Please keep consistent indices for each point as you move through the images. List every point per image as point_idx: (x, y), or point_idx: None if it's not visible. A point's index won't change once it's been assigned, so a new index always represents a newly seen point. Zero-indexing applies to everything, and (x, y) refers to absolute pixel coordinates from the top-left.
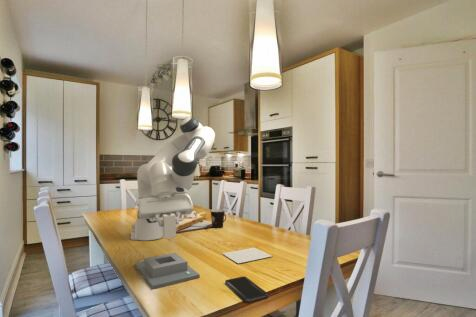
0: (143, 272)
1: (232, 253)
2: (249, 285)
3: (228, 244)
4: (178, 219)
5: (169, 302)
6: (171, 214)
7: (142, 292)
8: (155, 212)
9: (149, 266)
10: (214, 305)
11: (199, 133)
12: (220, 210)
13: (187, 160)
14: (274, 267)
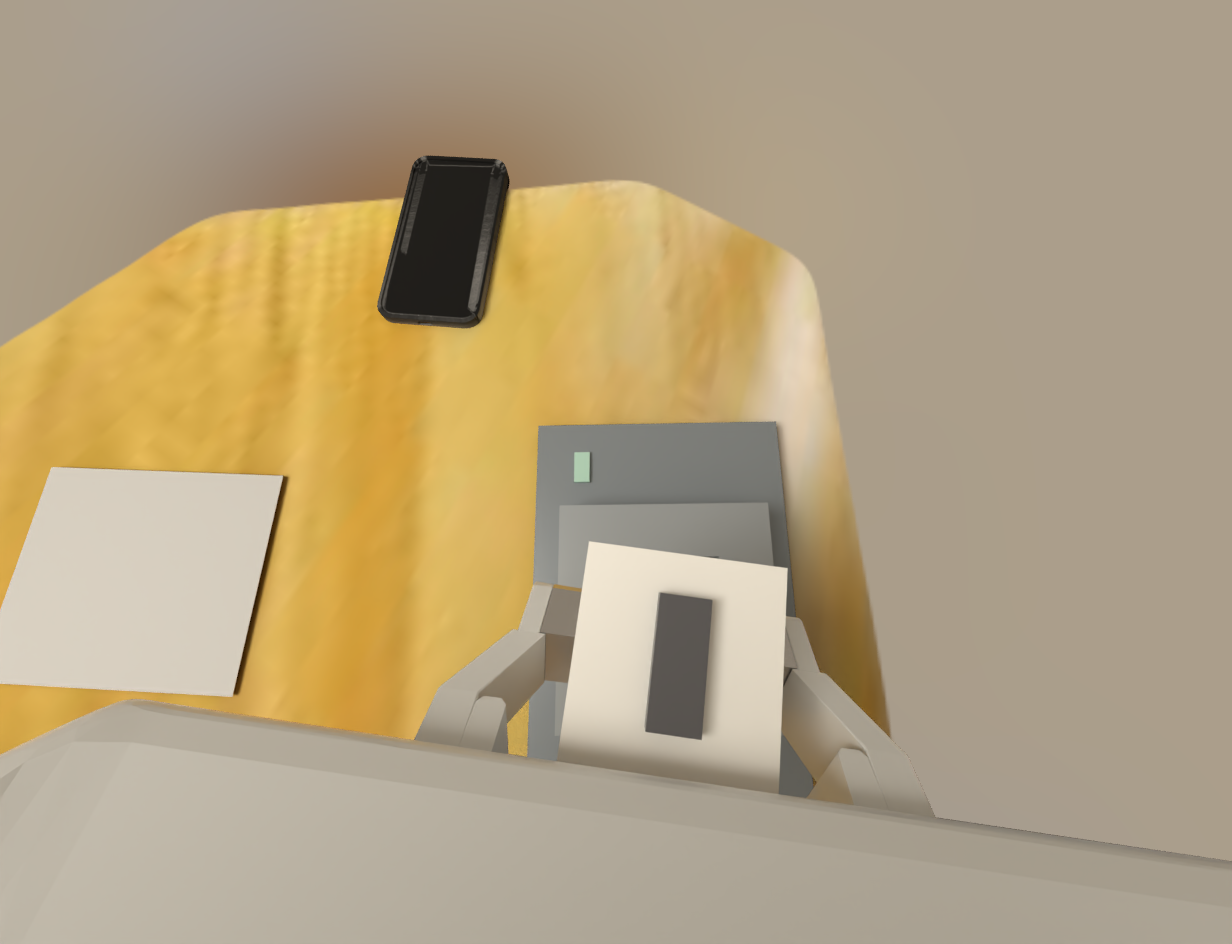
0: (789, 615)
1: (181, 652)
2: (419, 242)
3: None
4: (525, 610)
5: (735, 291)
6: (627, 655)
7: (816, 420)
8: (964, 827)
9: None
10: (605, 203)
11: None
12: None
13: None
14: (183, 348)
